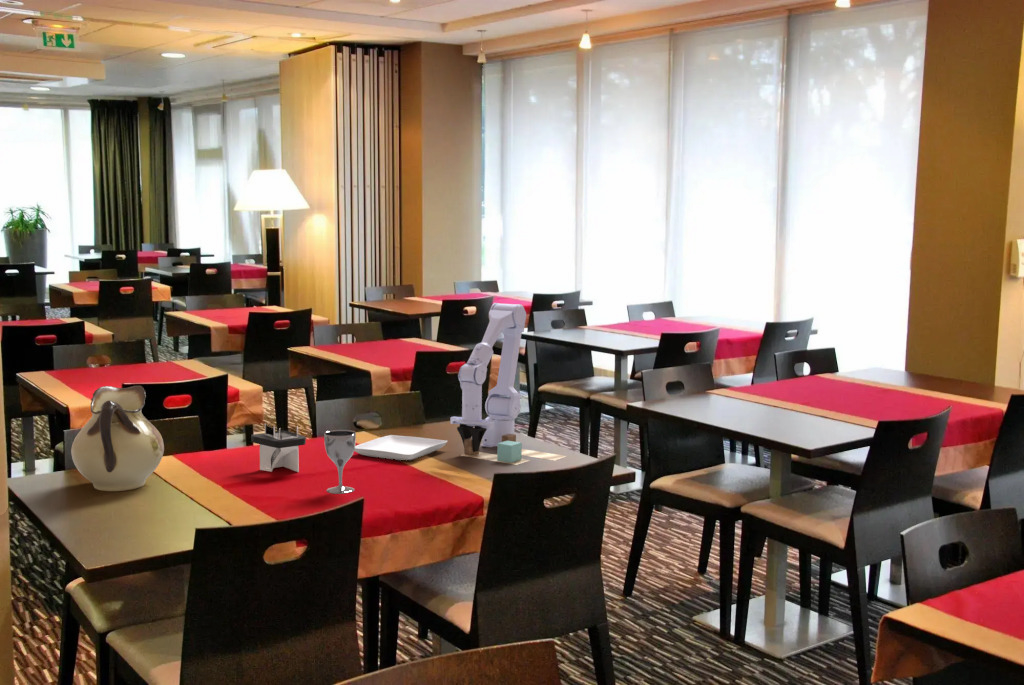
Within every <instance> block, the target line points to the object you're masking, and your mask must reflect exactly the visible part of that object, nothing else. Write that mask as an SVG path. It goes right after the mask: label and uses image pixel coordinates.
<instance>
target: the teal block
mask: <svg viewBox="0 0 1024 685" xmlns="http://www.w3.org/2000/svg"><path fill="white" fill-rule="evenodd" d="M522 446H523V443H522V442H520V441H516V442H514V441H504V442H501V443H497V446H496V447H497V448H496V449H497V452H496V455H497V461H503V462H509V463H513V462H516V461H519V460H521V459H523V458H522V456H523V455H522V449H523V448H522Z"/></svg>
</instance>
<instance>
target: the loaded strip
mask: <svg viewBox="0 0 1024 685" xmlns="http://www.w3.org/2000/svg"><path fill="white" fill-rule="evenodd" d="M463 447H464V450H463V451H464V452H463V454H460V457H468V458H474V459H479V460H485V461H491V462H498V463H503V464H510V465H515V466H518V465H522V464H524V463H528V462H530V461H531V459H525V458H522V459H521V460H519V461H516V462H513V463H509V462H503V461H497V454H495V453H488V452H483V451H482V452H481V451H480V450H479V451H476V452H473V449H472V437H471V438H468V439H464V445H463Z"/></svg>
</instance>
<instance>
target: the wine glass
mask: <svg viewBox="0 0 1024 685" xmlns="http://www.w3.org/2000/svg"><path fill="white" fill-rule="evenodd" d="M356 434H357V433H356V431H355V430H350V429H333V430H327V431H325V432H324V434H323V435H324V436H323V437H324V439H323V441H324V448H325V452H326V454H327V457H328V458H329V459H330V460H331V462H333V463H334V465H335V466H336V467H337V468H336V469H337V473H338V485H337V486H334V487H328V488H327V489H326V492H327V493H330V494H334V495H335V494H336V495H337V494H338V495H344V494H350V493H353V492H355V488H353V487H351V486H346V485H345V486H344V485H343V471H344V467H345V465H346V464H347V462H348V461H349V460H350V459H351V457H353V455H354V453H355V451H354V449H355V446H356V442H357V440H356V439H357V436H356Z"/></svg>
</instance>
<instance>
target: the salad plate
mask: <svg viewBox="0 0 1024 685" xmlns="http://www.w3.org/2000/svg"><path fill="white" fill-rule="evenodd" d="M447 443H448V440H443V439H435V438H427V437H418V436H408V435H406V436H405V435H397V434H396V435H394V434H389V435H385V436H381V437H378V438H377V437H376V438H374V439H371V440H369V441H365V442H363V443H360V444H357V445H356V444H355V449H354V453H357V454H359V455H362V456H365V457H366V456H367V457H371V458H378V457H379V458H380V459H385V458H386V459H387V460H393V459H395V460H394V461H401V460H406V461H407V460H409V461H413V460H417V459H419V458H421V456H422V457H425V456H427V455H430V454H432V453H434V452H436V451H438V450H440V449H442V448H443V447H444V446H445V445H447ZM424 455H425V456H424ZM418 457H419V458H418ZM386 459H385V460H386ZM406 461H405V462H406Z"/></svg>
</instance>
